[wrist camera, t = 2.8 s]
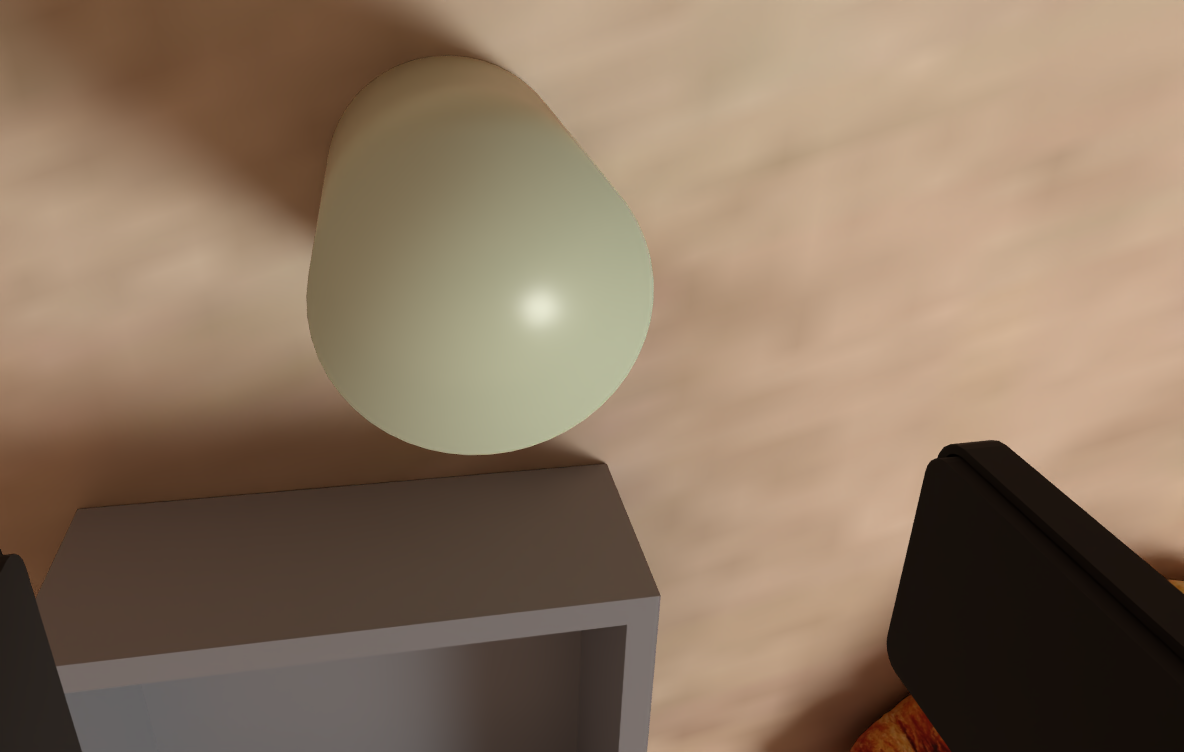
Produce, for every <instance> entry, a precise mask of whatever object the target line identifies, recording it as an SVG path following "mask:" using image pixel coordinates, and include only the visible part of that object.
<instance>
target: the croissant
mask: <svg viewBox="0 0 1184 752" xmlns="http://www.w3.org/2000/svg"><path fill="white" fill-rule="evenodd" d="M1168 581H1169V582H1170V583H1171V584H1173V585H1174V586H1175V587H1176V588H1177V589H1179V590H1180V591H1181V592H1182V593H1183V594H1184V581H1179V580H1168ZM849 752H951V751H950V749H949V748H948V746H947V745H946V744H945V742H944V741H943V739H942V738H941V736H940V735H939V734H938V732H937V731H936V729H935V728H934V727H933V725H932V724H931V722H930V721H929V719H928V718H927V717H926V715H925V714H924V712H923V711H922V709H921V708H920V707H919V705H918V704H917V702H916V701H915V699H914V698H913V697H912V695H909V696H908V697H906V698H905V699H903V700H902V701H901V702H900V703H899V704H898V705H897V706H895V707H894V708H893V709H892V710H891V711H890V712H887V713H885V714H883V716H882V718H880V719H879V720H877V721H876V722H875V723H874V724H872V725H871V726H870V727H869V728H868V729H867V730H866V731H865V732H864V733H863V734H862V735H861V736H860V737H859V738H858V739H857V740H856V742H855V744H854V745H853V747H852V748H851V750H850V751H849Z"/></svg>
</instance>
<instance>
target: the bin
mask: <svg viewBox="0 0 1184 752" xmlns="http://www.w3.org/2000/svg"><path fill="white" fill-rule="evenodd" d="M660 597H661V596H660V593H659V591H658V588H657V586H656V583H655V581H654V578H653V576H652V574H651V571H650V569H649V566H648V564H647V561H646V559H645V556H644V554H643V552H642V549H641V547H640V544H639V542H638V539H637V537H636V534H635V532H634V530H633V527H632V525H631V522H630V520H629V517H628V515H627V512H626V510H625V508H624V505H623V503H622V500H621V498H620V495H619V493H618V490H617V488H616V486H615V483H614V481H613V478H612V476H611V473H610V471H609V468H608V466H607V464H597V465H586V466H574V467H563V468H551V469H539V470H528V471H516V472H504V473H493V474H481V475H470V476H458V477H446V478H435V479H423V480H412V481H400V482H388V483H377V484H365V485H353V486H342V487H330V488H319V489H307V490H295V491H284V492H272V493H260V494H249V495H237V496H226V497H214V498H202V499H191V500H179V501H167V502H156V503H144V504H133V505H121V506H109V507H98V508H86V509H78V510H77V512H76V514H75V516H74V518H73V520H72V522H71V524H70V527H69V529H68V531H67V533H66V535H65V537H64V539H63V541H62V544H61V546H60V548H59V550H58V552H57V554H56V556H55V558H54V560H53V563H52V565H51V567H50V569H49V571H48V573H47V575H46V577H45V580H44V582H43V584H42V586H41V588H40V590H39V592H38V594H37V597H36V602H37V606H38V609H39V612H40V615H41V619H42V622H43V625H44V629H45V632H46V635H47V638H48V642H49V645H50V648H51V652H52V655H53V658H54V661H55V665H56V668H57V671H58V674H59V678H60V681H61V684H62V688H63V691H64V694H65V697H66V701H67V704H68V707H69V711H70V714H71V717H72V720H73V724H74V727H75V730H76V733H77V737H78V740H79V743H80V747H81V750H82V752H647V745H648V734H649V722H650V711H651V700H652V688H653V677H654V665H655V654H656V643H657V631H658V620H659V609H660Z"/></svg>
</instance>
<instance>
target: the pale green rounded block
mask: <svg viewBox="0 0 1184 752" xmlns="http://www.w3.org/2000/svg"><path fill="white" fill-rule="evenodd" d="M306 296H307V318H308V323H309V328H310V333H311V338H312V341H313V344H314V347H315V350H316V353H317V356H318V358H319V360H320V362H321V364H322V366H323V368H324V370H325V372H326V374H327V376H328V378H329V379H330V380H331V382H332V383H333V385H334V386H335V387H336V389H337V390H338V392H339V393H340V394H341V395H342V397H343V398H344V399H345V400H346V401H347V402H348V403H349V404H350V405H351V406H352V407H353V408H354V409H355V410H356V411H357V412H358V413H360V414H361V415H362V416H363V417H364V418H366V419H367V420H368V421H369V422H371V423H372V424H374V425H375V426H377V427H378V428H380V429H382V430H383V431H385V432H386V433H388V434H390V435H392V436H394V437H396V438H399V439H401V440H403V441H405V442H407V443H410V444H413V445H416V446H419V447H422V448H425V449H429V450H434V451H439V452H444V453H450V454H461V455H490V454H498V453H505V452H511V451H515V450H519V449H523V448H527V447H531V446H534V445H536V444H539V443H542V442H544V441H547V440H550V439H552V438H554V437H556V436H558V435H560V434H562V433H564V432H566V431H568V430H569V429H571V428H572V427H574V426H575V425H577V424H578V423H580V422H582V421H583V420H585V419H586V418H587V417H588V416H590V415H591V414H592V413H593V412H594V411H596V410H597V409H598V408H599V407H601V406H602V405H603V404H604V402H605V401H606V400H607V399H608V398H609V397H610V396H611V395H612V394H613V393H614V392H615V391H616V390H617V388H618V387H619V386H620V384H621V383H622V382H623V380H624V379H625V378H626V376H627V375H628V373H629V371H630V370H631V368H632V366H633V365H634V363H635V361H636V359H637V358H638V355H639V353H640V350H641V348H642V346H643V343H644V341H645V338H646V335H647V331H648V328H649V324H650V320H651V314H652V306H653V272H652V265H651V258H650V255H649V251H648V248H647V244H646V241H645V238H644V236H643V233H642V231H641V229H640V227H639V224H638V222H637V220H636V218H635V217H634V215H633V213H632V212H631V210H630V209H629V207H628V206H627V204H626V202H625V201H624V200H623V198H622V197H621V196H620V195H619V194H618V192H617V191H616V190H615V189H614V187H613V186H612V185H611V184H610V182H609V181H608V180H607V179H606V177H605V176H604V175H603V174H602V173H601V171H600V170H599V169H598V168H597V166H596V165H595V164H594V163H593V161H592V160H591V159H590V158H589V156H588V155H587V154H586V153H585V152H584V150H583V149H582V148H581V147H580V145H579V144H578V143H577V142H576V140H575V139H574V138H573V137H572V135H571V134H570V133H569V132H568V131H567V129H566V128H565V127H564V126H563V124H562V123H561V122H560V121H559V119H558V118H557V117H556V116H555V114H554V113H553V112H552V111H551V110H550V108H549V107H548V106H547V105H546V103H545V102H544V101H543V100H542V99H541V98H540V96H539V95H538V94H537V93H536V92H535V91H534V90H533V89H532V88H531V87H529V86H528V85H527V84H526V83H525V82H524V81H522V80H521V79H519V78H518V77H516V76H515V75H513V74H512V73H510V72H508V71H506V70H504V69H502V68H500V67H499V66H497V65H494V64H491V63H488V62H485V61H482V60H479V59H474V58H469V57H464V56H450V55H445V56H430V57H425V58H421V59H416V60H412V61H409V62H406V63H404V64H401V65H398V66H396V67H394V68H392V69H390V70H388V71H386V72H384V73H383V74H381V75H380V76H378V77H377V78H376V79H374V80H373V81H371V82H370V83H369V84H368V85H367V86H366V87H365V88H364V89H362V90H361V91H360V92H359V93H358V94H357V95H356V97H355V98H354V99H353V100H352V102H351V103H350V104H349V105H348V107H347V108H346V110H345V112H344V113H343V115H342V117H341V118H340V120H339V122H338V124H337V127H336V129H335V132H334V134H333V137H332V140H331V144H330V148H329V152H328V158H327V164H326V171H325V177H324V183H323V189H322V195H321V201H320V207H319V214H318V220H317V226H316V232H315V238H314V244H313V250H312V257H311V263H310V269H309V276H308V285H307V295H306Z"/></svg>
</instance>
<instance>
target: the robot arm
mask: <svg viewBox="0 0 1184 752" xmlns="http://www.w3.org/2000/svg"><path fill="white" fill-rule="evenodd" d="M887 652H888V656H889V660H890V662H891V665H892V667H893V669H894V671H895V672H896V674H897V675H898V677H899V678H900V680H901V681H902V682H903V684H904V685H905V687H906V688H907V689H908V691H909V692H910V694H911V695H912V697H913V698H914V699H915V701H916V702H917V704H918V705H919V707H920V708H921V709H922V711H923V712H924V714H925V715H926V717H927V718H928V719H929V721H930V722H931V724H932V725H933V727H934V728H935V729H936V731H937V732H938V734H939V735H940V736H941V738H942V739H943V741H944V742H945V744H946V745H947V746H948V748H949V749H950V751H951V752H1184V594H1183V593H1182V592H1181V591H1180V590H1179V589H1177V588H1176V587H1175V586H1174V585H1173V584H1171V583H1170V582H1169V581H1168V580H1167V579H1166V578H1164V577H1163V576H1162V575H1161V574H1160V573H1158V572H1157V571H1156V570H1155V569H1154V568H1152V567H1151V566H1150V565H1149V564H1148V563H1146V562H1145V561H1144V560H1143V559H1142V558H1140V557H1139V556H1138V555H1137V554H1136V553H1134V552H1133V551H1132V550H1131V549H1130V548H1128V547H1127V546H1126V545H1125V544H1124V543H1122V542H1121V541H1120V540H1119V539H1118V538H1116V537H1115V536H1114V535H1113V534H1112V533H1111V532H1109V531H1108V530H1107V529H1106V528H1105V527H1103V526H1102V525H1101V524H1100V523H1099V522H1097V521H1096V520H1095V519H1094V518H1093V517H1091V516H1090V515H1089V514H1088V513H1087V512H1085V511H1084V510H1083V509H1082V508H1081V507H1079V506H1078V505H1077V504H1076V503H1075V502H1073V501H1072V500H1071V499H1070V498H1069V497H1067V496H1066V495H1065V494H1064V493H1063V492H1061V491H1060V490H1059V489H1058V488H1057V487H1056V486H1054V485H1053V484H1052V483H1051V482H1050V481H1048V480H1047V479H1046V478H1045V477H1044V476H1042V475H1041V474H1040V473H1039V472H1038V471H1036V470H1035V469H1034V468H1033V467H1032V466H1030V465H1029V464H1028V463H1027V462H1026V461H1024V460H1023V459H1022V458H1021V457H1020V456H1018V455H1017V454H1016V453H1015V452H1014V451H1012V450H1011V449H1010V448H1009V447H1008V446H1007V445H1005V444H1003V443H1001V442H1000V441H994V440H989V441H979V442H969V443H959V444H950V445H948V446H946V447H944V448H943V449H942V450H941V452H940V453H939V455H938V458H936V459H934V460H931V462H930V463H929V464H928V466H927V469H926V471H925V476H924V480H923V484H922V489H921V493H920V497H919V502H918V506H917V510H916V515H915V519H914V523H913V527H912V532H911V536H910V540H909V545H908V549H907V553H906V558H905V562H904V566H903V571H902V575H901V579H900V584H899V588H898V592H897V597H896V601H895V605H894V610H893V614H892V618H891V623H890V627H889V631H888V636H887ZM0 752H82V750H81V747H80V743H79V740H78V737H77V733H76V730H75V727H74V724H73V720H72V717H71V714H70V711H69V707H68V704H67V701H66V697H65V694H64V691H63V688H62V684H61V681H60V678H59V674H58V671H57V668H56V665H55V661H54V658H53V655H52V652H51V648H50V645H49V642H48V638H47V635H46V632H45V629H44V625H43V622H42V619H41V615H40V612H39V609H38V606H37V602H36V599H35V596H34V593H33V589H32V586H31V583H30V579H29V576H28V573H27V570H26V567H25V564H24V562H23V560H22V558H21V557H20V556H19V555H17V554H8V555H3V554H2V552H1V549H0Z"/></svg>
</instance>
